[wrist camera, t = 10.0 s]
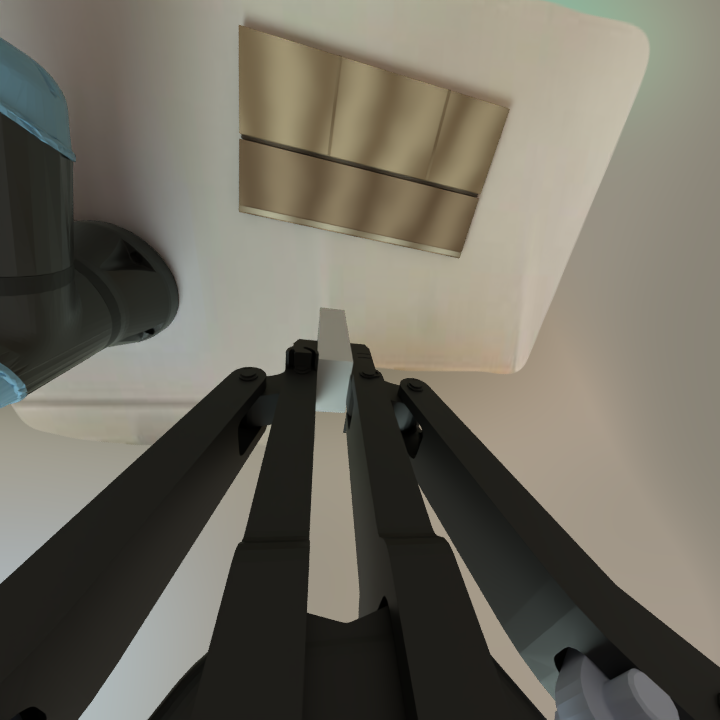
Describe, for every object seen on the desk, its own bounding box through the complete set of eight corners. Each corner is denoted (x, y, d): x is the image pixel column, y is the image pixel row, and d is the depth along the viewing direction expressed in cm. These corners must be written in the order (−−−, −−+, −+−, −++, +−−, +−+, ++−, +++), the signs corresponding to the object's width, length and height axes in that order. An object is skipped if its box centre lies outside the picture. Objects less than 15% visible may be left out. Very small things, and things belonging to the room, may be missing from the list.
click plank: (242, 212, 33) (238, 211, 32) (242, 141, 30) (239, 138, 29) (455, 257, 37) (459, 258, 36) (474, 199, 34) (479, 198, 33)
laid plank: (242, 138, 30) (239, 136, 29) (242, 32, 26) (238, 24, 25) (475, 197, 34) (479, 196, 33) (503, 112, 31) (510, 108, 29)
